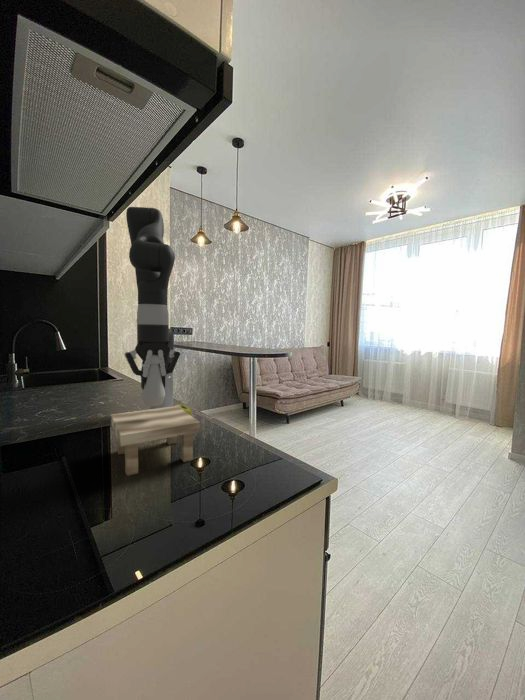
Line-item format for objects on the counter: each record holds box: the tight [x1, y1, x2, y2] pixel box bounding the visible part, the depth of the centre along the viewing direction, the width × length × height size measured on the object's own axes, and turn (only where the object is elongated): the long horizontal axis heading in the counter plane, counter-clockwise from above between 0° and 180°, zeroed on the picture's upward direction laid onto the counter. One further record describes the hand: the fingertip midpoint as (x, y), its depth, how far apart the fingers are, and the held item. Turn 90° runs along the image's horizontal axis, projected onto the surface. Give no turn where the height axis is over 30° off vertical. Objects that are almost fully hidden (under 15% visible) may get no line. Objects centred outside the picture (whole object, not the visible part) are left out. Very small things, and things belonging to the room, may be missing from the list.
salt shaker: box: [140, 355, 165, 407], centre depth 75 cm, size 6×6×13 cm
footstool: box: [110, 405, 201, 476], centre depth 76 cm, size 18×18×10 cm
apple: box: [173, 400, 193, 417], centre depth 96 cm, size 8×8×10 cm
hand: (153, 390), depth 75 cm, fingers closed on salt shaker, 3 cm apart
